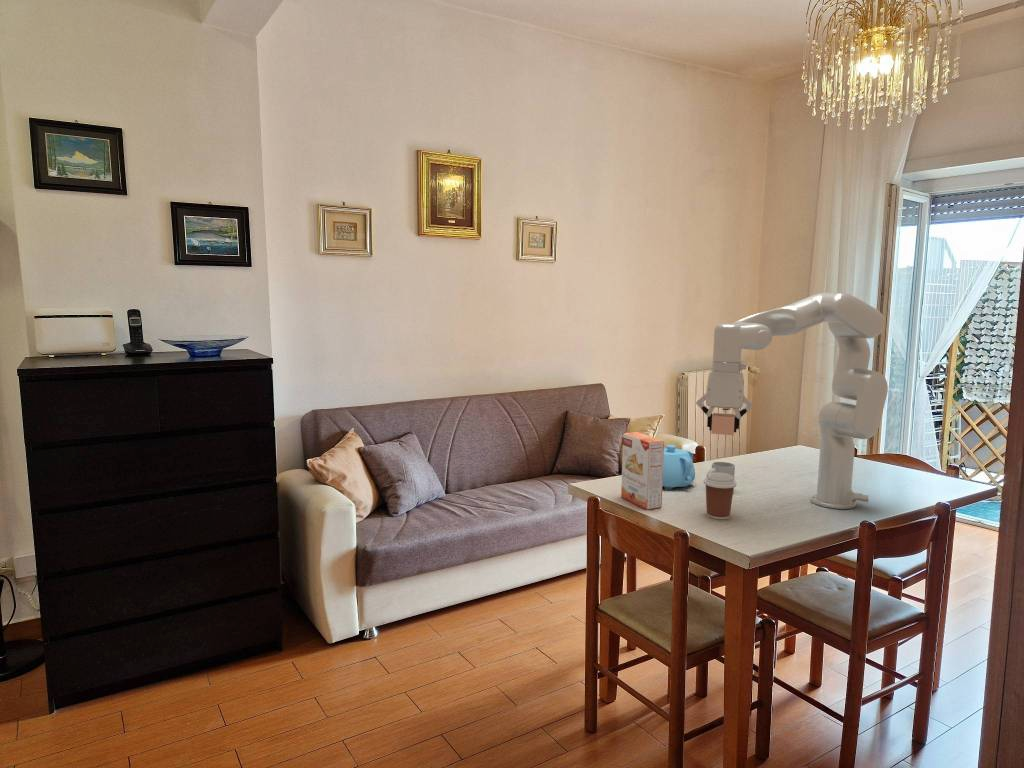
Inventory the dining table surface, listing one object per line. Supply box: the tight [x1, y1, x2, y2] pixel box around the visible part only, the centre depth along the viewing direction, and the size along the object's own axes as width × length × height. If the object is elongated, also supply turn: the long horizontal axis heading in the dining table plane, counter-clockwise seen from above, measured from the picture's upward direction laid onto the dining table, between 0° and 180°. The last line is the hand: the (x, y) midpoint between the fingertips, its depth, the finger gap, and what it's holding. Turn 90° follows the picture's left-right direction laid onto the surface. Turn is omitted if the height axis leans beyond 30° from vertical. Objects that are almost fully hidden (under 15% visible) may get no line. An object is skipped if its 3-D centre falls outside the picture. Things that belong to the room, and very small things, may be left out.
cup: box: [705, 461, 736, 481], centre depth 216 cm, size 7×10×9 cm
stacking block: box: [710, 412, 736, 436], centre depth 189 cm, size 6×6×5 cm
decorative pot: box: [662, 444, 696, 490], centre depth 223 cm, size 16×16×14 cm
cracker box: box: [620, 431, 665, 511], centre depth 202 cm, size 14×6×21 cm, turn 23°
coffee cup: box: [703, 473, 737, 520], centre depth 191 cm, size 9×9×12 cm
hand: (722, 430), depth 189 cm, fingers closed on stacking block, 6 cm apart
